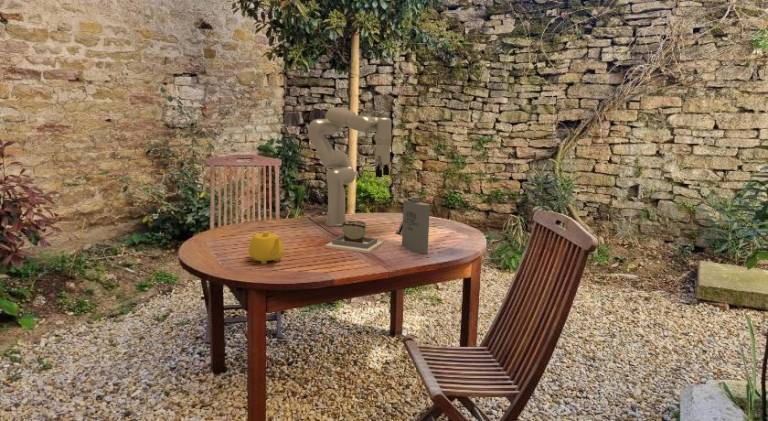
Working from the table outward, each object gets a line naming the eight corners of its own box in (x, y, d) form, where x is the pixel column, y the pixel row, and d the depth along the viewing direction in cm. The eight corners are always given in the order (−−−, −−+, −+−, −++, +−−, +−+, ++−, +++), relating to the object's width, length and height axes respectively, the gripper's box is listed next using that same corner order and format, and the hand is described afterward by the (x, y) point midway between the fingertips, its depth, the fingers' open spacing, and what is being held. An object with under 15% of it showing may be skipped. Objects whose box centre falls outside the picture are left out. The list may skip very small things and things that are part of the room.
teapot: (265, 269, 199) (265, 239, 196) (240, 258, 213) (240, 229, 211) (294, 263, 208) (294, 234, 206) (268, 252, 222) (268, 225, 220)
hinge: (417, 229, 275) (422, 213, 270) (423, 233, 272) (428, 217, 268) (394, 233, 264) (399, 217, 260) (400, 238, 261) (405, 221, 257)
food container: (370, 242, 240) (370, 221, 238) (365, 245, 234) (365, 224, 232) (346, 239, 244) (346, 219, 242) (341, 242, 238) (341, 221, 236)
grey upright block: (399, 245, 240) (400, 193, 235) (406, 244, 243) (408, 193, 238) (421, 254, 226) (423, 199, 221) (429, 253, 228) (431, 199, 224)
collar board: (325, 247, 233) (325, 240, 232) (342, 238, 249) (342, 232, 249) (368, 253, 225) (369, 246, 225) (383, 244, 242) (383, 237, 241)
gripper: (382, 141, 263) (381, 173, 266) (369, 142, 247) (369, 177, 251) (396, 142, 260) (395, 174, 264) (383, 143, 245) (382, 178, 248)
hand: (382, 176), depth 257 cm, fingers open, 9 cm apart
